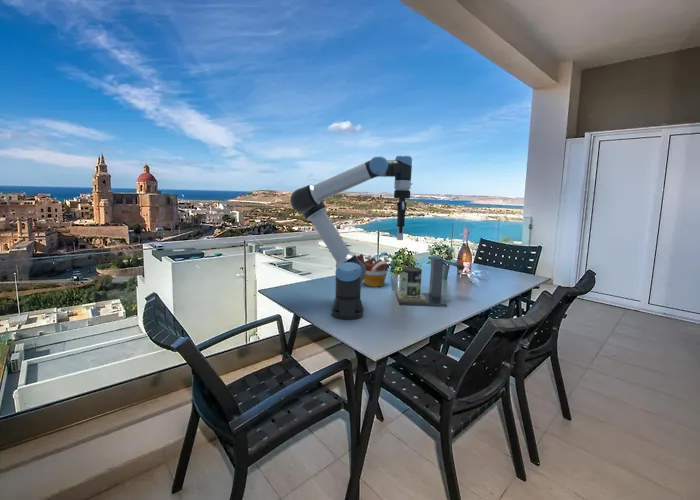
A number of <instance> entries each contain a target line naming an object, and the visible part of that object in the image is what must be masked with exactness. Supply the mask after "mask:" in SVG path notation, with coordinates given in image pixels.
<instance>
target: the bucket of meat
mask: <svg viewBox="0 0 700 500" xmlns="http://www.w3.org/2000/svg"><path fill="white" fill-rule="evenodd" d="M356 256H357V258H358V260H360V261H361V262H362V263H363V264H364V266H365V268H366V275H365V278H364V279H363V283H364V284H365V285H366V286H367V287H370V286H371V287H370V288H379V286H380V287H382V286H383V285H385V281H386V277H387V274H388V270H389V268H390V264H388V263H390V259H387V257H385V256H384V257H383V260H382V259H380V258H379V259H378V260H376V258H375V257H372V255H370V254H369V255H368V256H365V257H364V255H363V254H362V253H360V254H359V255H356Z"/></svg>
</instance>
